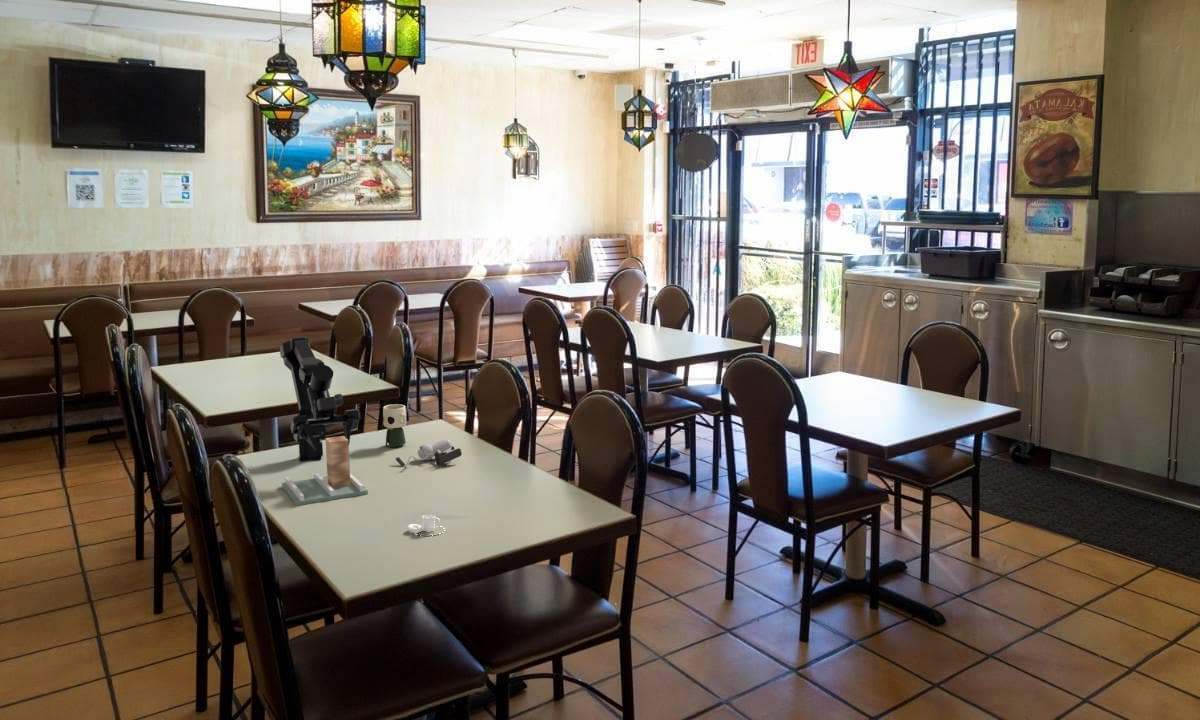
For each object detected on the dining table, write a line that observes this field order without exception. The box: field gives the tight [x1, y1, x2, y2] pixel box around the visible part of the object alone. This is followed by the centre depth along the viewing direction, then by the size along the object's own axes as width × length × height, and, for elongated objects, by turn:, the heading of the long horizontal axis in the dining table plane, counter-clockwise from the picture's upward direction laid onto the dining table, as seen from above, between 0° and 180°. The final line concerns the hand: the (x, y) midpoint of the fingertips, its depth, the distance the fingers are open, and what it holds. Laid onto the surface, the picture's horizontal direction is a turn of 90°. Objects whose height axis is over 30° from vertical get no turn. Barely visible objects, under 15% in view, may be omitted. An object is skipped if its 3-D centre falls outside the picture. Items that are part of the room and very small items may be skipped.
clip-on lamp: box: [395, 438, 463, 468], centre depth 287 cm, size 12×6×18 cm
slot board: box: [281, 472, 369, 506], centre depth 262 cm, size 18×19×2 cm
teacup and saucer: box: [406, 513, 446, 537], centre depth 232 cm, size 9×8×4 cm
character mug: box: [382, 403, 407, 448], centre depth 305 cm, size 11×7×13 cm, turn 51°
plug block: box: [324, 435, 351, 488], centre depth 263 cm, size 5×5×13 cm
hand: (332, 446), depth 266 cm, fingers open, 9 cm apart
